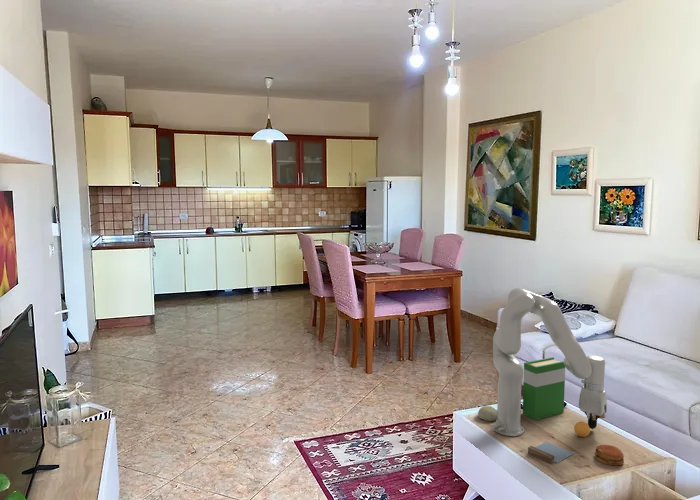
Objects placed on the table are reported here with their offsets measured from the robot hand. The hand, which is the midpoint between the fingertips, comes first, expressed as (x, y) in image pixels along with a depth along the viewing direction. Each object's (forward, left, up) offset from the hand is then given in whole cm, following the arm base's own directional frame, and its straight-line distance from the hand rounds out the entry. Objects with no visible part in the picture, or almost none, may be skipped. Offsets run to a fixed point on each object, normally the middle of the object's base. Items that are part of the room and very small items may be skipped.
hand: (592, 427), depth 216 cm
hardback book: (0, +23, -2) cm, 23 cm away
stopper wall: (-37, 0, -1) cm, 37 cm away
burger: (-18, -16, -2) cm, 24 cm away
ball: (-8, 0, +2) cm, 8 cm away
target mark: (-30, 0, -1) cm, 30 cm away
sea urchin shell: (-24, +35, -2) cm, 42 cm away
